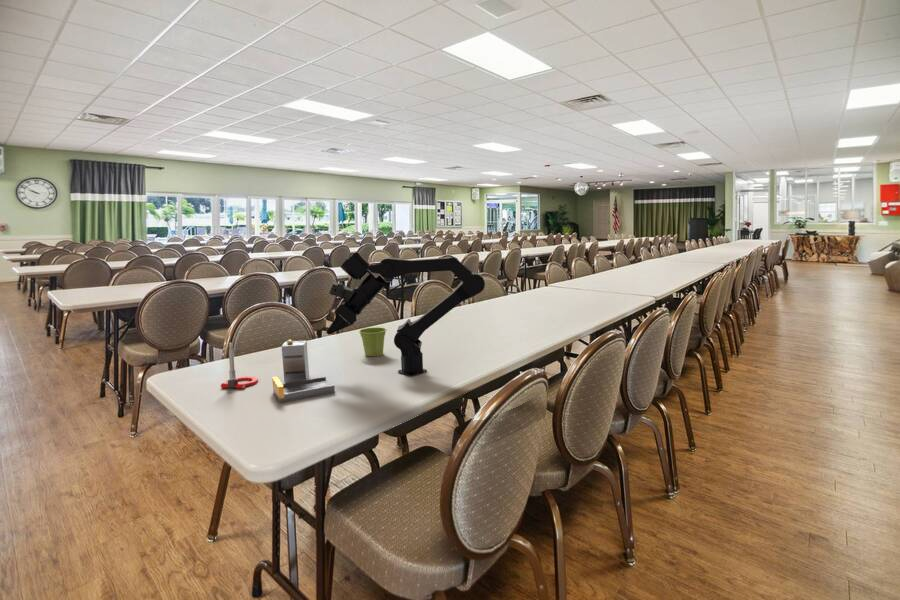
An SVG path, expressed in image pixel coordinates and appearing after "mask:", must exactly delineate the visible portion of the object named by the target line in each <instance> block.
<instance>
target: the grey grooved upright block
mask: <svg viewBox="0 0 900 600" xmlns="http://www.w3.org/2000/svg"><path fill="white" fill-rule="evenodd" d="M308 355H309V354H308V340H293V339H287V340H286V341H285V342H284V343H283V344H282V345H281V356H282V368H283V369H282V370H283V379H284V380H283V383H288V382H294V381H300V380H306V379H310V368H309V356H308Z"/></svg>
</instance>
